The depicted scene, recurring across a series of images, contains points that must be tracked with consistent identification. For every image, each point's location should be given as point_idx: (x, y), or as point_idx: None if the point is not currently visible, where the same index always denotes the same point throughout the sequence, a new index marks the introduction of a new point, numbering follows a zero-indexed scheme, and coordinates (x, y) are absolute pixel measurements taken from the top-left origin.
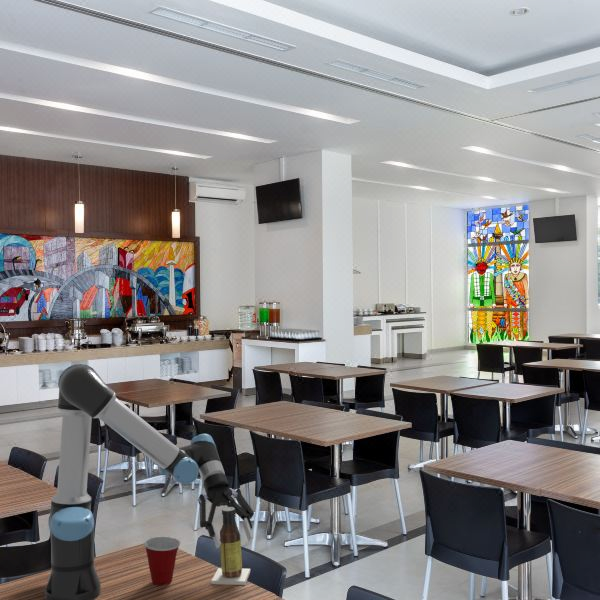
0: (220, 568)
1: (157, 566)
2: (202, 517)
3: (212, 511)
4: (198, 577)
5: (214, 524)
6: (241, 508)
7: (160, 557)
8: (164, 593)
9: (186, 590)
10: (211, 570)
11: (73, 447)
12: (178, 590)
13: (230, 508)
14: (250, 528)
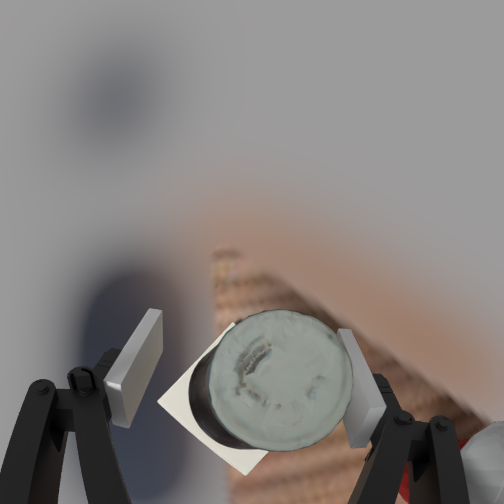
0: (242, 468)
1: (475, 445)
2: (455, 446)
3: (383, 492)
4: (325, 461)
5: (372, 404)
6: (84, 449)
7: (491, 436)
8: (440, 395)
9: (392, 387)
10: (261, 491)
11: None
12: (408, 397)
13: (260, 376)
14: (132, 334)
